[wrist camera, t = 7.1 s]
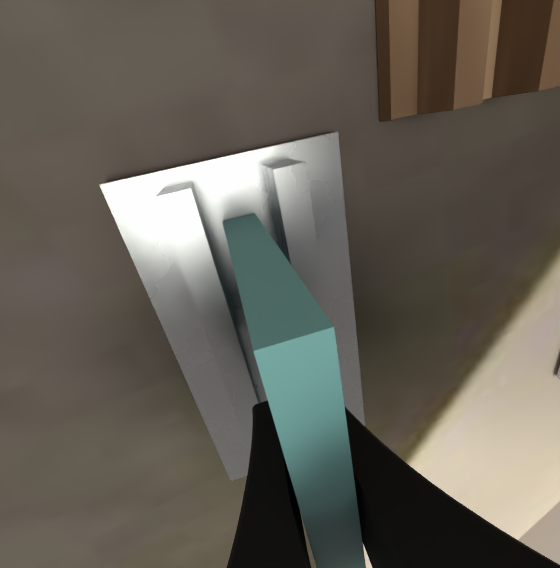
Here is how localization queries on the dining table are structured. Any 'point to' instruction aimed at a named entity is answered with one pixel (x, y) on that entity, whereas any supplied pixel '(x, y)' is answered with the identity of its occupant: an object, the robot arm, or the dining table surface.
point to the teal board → (300, 390)
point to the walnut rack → (463, 52)
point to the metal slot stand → (220, 273)
